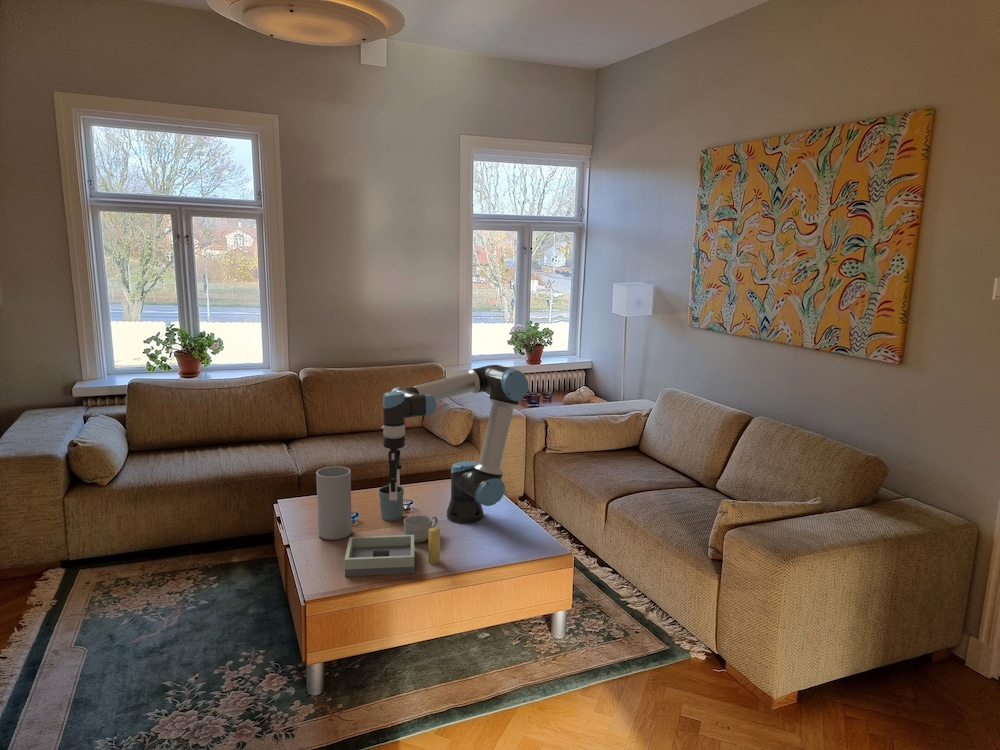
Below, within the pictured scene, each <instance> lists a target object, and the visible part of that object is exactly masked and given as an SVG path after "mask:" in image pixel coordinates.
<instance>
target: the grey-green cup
mask: <svg viewBox="0 0 1000 750" xmlns="http://www.w3.org/2000/svg"><path fill="white" fill-rule="evenodd" d="M404 491H405V489H404V487H403V486H401V485H400V487H397V500H389V484H388V485H384V486H381V487H380V488H378V495H379V505H380V506H379V509H380V518H381V519H382V520H383V521H388V522H392V521H398V520H401V519H402V517H403V505H404V493H405V492H404Z"/></svg>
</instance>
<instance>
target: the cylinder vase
mask: <svg viewBox="0 0 1000 750" xmlns="http://www.w3.org/2000/svg"><path fill="white" fill-rule="evenodd" d="M315 473H316V498H317V499H316V501H317V505H316V506H317V528H318V529H317V531H318V533H317V534H318V536H319V537H320V538H321V539H324V540H327V541H336V540H337V541H338V540H343V539H346V538H347V537H349V536H350V535H351V534H352V533H353V532H352V531H353V527H352V526H353V525H352V524H353V523H352V484H351V482H352V481H351V480H352V477H351V476H352V475H351V469H350V468H348V467H345V466H327V467H322V468H320V469H318V470H316V472H315Z"/></svg>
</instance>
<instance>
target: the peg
mask: <svg viewBox="0 0 1000 750" xmlns="http://www.w3.org/2000/svg"><path fill="white" fill-rule="evenodd" d="M440 562H441V529H440V528H439V527H436V526H435V527H433V528H430V529H429V538H428V564H429V565H438V564H440Z"/></svg>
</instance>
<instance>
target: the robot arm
mask: <svg viewBox="0 0 1000 750" xmlns="http://www.w3.org/2000/svg"><path fill="white" fill-rule="evenodd" d="M528 391H529V382H528V379H527V376H526V375H525V374H524V373H523V372H522V371H520V370H517V368H514V367H513V368H512V367H507V366H503V365H500V364H488V365H485V366H481V367H477V368H472V369H469V370H468V371H467V373H463V374H457V375H453V376H450V377H446V378H442V379H438V380H434V381H430V382H426V383H422V384H418V385H414V386H409V387H405V388H404V387H399V386H398V387H394V388H393V389H391V391H387V392H385V393H384V394H383V396H382V416H383V419H382V420H383V423H382V425H383V426H381V430H383V431H382V432H383V437H382V438H383V439H382V442H383V445H382V446H383V447H384V448H386V449H389V450H388V453H387V454H388V455H387V457H388V464H389V465H388V466H389V467H388V470H389V471H388V480H386V483H387V484H388V485H389V500H397V487H400V486H401V485H400V484H401V482H400V480H401V479H400V477H401V475H400V472H401V471H400V470H401V469H402V465H401V462H400V458H401V450H400V449H403V448H404V447H405V445H406V436H405V434H406V419H408V418H415V417H423V416H429V415H430V416H431V415H433V414H434V413H436V411H437V409H436V408H437V401H442V400H445V399H449V398H452V397H456V396H459V395H460V396H461V395H463V394H467V393H473V394H479V393H490V394H489V399H488V400H489V401H490V402H491V407H490V411H489V417H488V421H487V426H486V429H485V435H484V438H483V443H482V447H481V451H480V456H479V460H478V461H475V460H474V461H473V460H465V461H457V462H455V463H453V464H452V465H451V470H450V499H449V503H448V506H447V509H446V518H447V519H448V521H451V522H453V523H458V524H473V523H476V522H479V521H481V520H482V519H483V518H484V508H483V506H485V507H490V506H494V505H496V504H497V503H498V502H500V501H501V499H502V498H503V497H504V495H505V492H506V486H505V484H504V481H503V480H502V478H503V471H502V469H501V465H502V460H503V456H504V451H505V448H506V444H507V443H506V442H507V439H508V438H507V437H508V434H509V430H510V426H511V420H512V416H513V411H514V409H515V408H516V407H518V406H519V402H520V401H521V400H523V399H524V397H526V395H528V394H527V393H528ZM482 505H483V506H482Z"/></svg>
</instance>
